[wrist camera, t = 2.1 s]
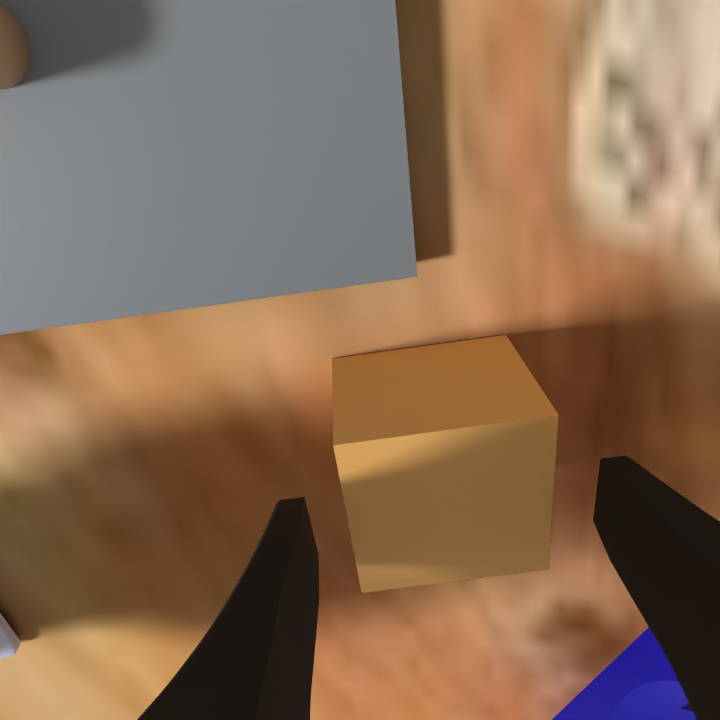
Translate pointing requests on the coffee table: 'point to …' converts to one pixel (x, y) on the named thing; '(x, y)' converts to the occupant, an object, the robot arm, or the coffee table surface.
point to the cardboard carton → (444, 463)
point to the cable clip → (633, 688)
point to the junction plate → (196, 154)
